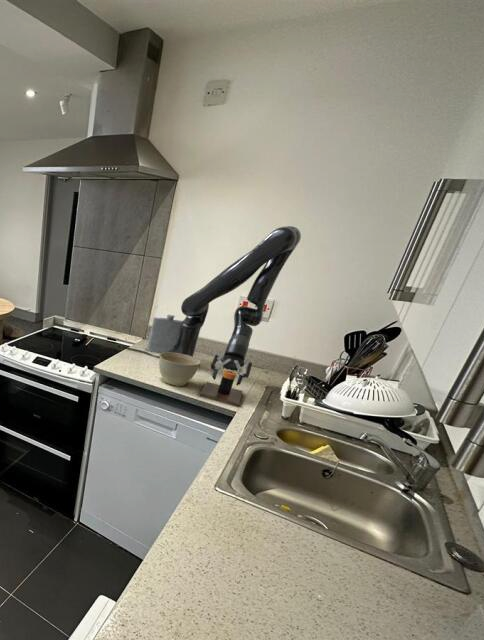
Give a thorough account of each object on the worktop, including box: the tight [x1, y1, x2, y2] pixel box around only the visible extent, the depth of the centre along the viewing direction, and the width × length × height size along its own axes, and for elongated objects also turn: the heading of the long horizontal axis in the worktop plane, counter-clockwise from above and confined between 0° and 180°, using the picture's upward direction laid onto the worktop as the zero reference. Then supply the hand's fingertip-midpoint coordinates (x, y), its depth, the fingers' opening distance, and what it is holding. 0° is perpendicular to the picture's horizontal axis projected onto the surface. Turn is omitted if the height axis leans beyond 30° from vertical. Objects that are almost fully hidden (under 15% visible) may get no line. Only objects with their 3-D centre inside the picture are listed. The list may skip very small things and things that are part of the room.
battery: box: [218, 370, 237, 395], centre depth 158 cm, size 4×4×9 cm
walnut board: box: [199, 381, 243, 407], centre depth 160 cm, size 14×16×1 cm
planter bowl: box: [158, 352, 201, 387], centre depth 167 cm, size 16×16×11 cm
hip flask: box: [146, 314, 183, 354], centre depth 204 cm, size 16×4×20 cm, turn 79°
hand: (225, 381), depth 157 cm, fingers open, 8 cm apart
